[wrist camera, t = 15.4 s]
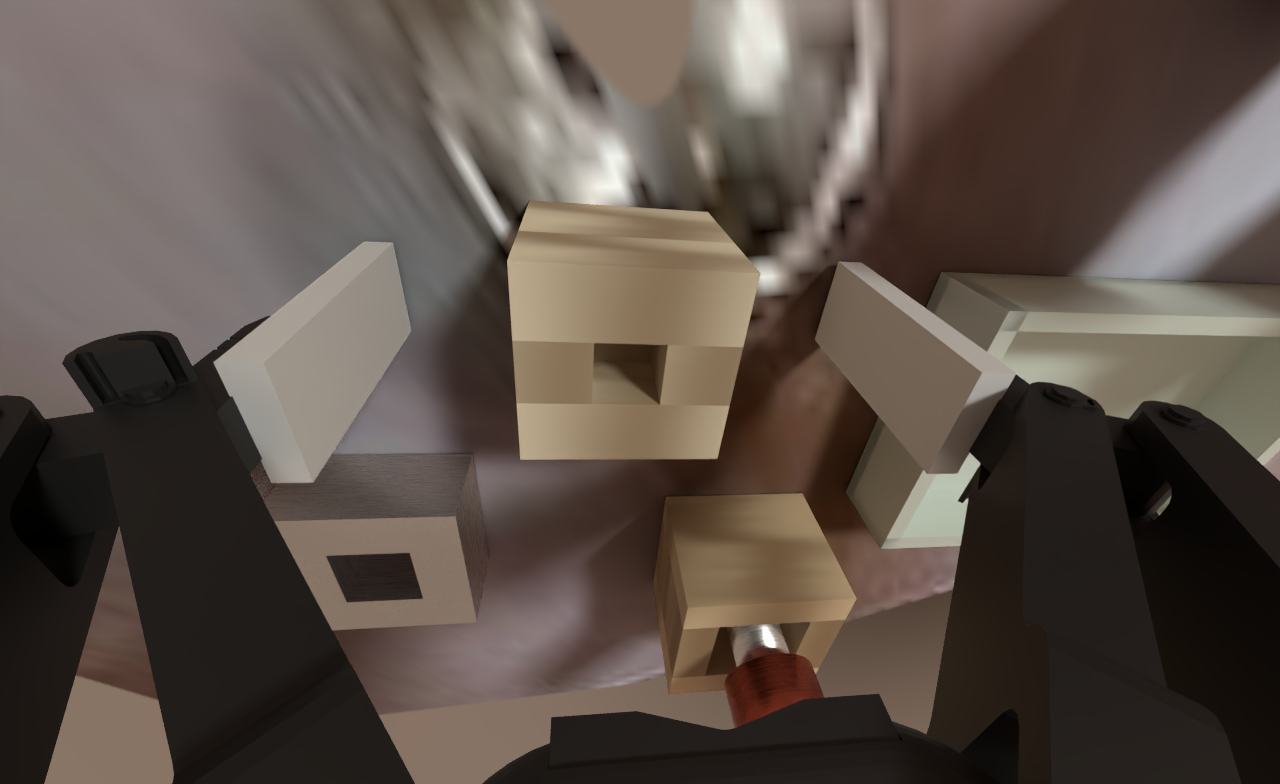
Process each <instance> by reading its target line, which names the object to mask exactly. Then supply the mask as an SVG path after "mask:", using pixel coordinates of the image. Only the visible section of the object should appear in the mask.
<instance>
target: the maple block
mask: <svg viewBox="0 0 1280 784" xmlns="http://www.w3.org/2000/svg"><path fill="white" fill-rule="evenodd" d="M507 268H508V283H509V298H510V313H511V328H512V343H513V357H514V372H515V387H516V402H517V417H518V432H519V446H520V460H559V459H717V458H718V454H719V449H720V445H721V441H722V437H723V432H724V428H725V424H726V419H727V415H728V411H729V406H730V402H731V398H732V393H733V389H734V385H735V380H736V376H737V372H738V368H739V363H740V359H741V355H742V350H743V346H744V342H745V337H746V333H747V329H748V324H749V320H750V316H751V311H752V307H753V303H754V299H755V294H756V290H757V286H758V281H759V277H760V272H759V271H758V270H757V269H756V268H755V267H754V265H753V264H752V263H751V262H750V261H749V260H748V258H747V257H746V256H745V255H744V254H743V253H742V251H741V250H740V249H739V248H738V247H737V246H736V244H735V243H734V242H733V241H732V240H731V239H730V237H729V236H728V235H727V234H726V233H725V232H724V231H723V229H722V228H721V227H720V226H719V225H718V224H717V222H716V221H715V220H714V219H713V218H712V217H711V215H710V214H709V213H708V212H697V211H682V210H666V209H651V208H636V207H621V206H606V205H590V204H575V203H560V202H545V201H529V203H528V206H527V209H526V211H525V214H524V217H523V219H522V222H521V225H520V227H519V230H518V233H517V235H516V238H515V241H514V243H513V246H512V249H511V252H510V254H509V257H508V260H507Z"/></svg>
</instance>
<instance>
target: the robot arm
mask: <svg viewBox="0 0 1280 784" xmlns="http://www.w3.org/2000/svg"><path fill="white" fill-rule="evenodd" d="M410 333H411V326H410V322H409V317H408V312H407V307H406V303H405V298H404V293H403V288H402V283H401V279H400V274H399V269H398V264H397V260H396V255H395V250H394V245H393V243H388V242H363V243H361V244H360V245H359V246H358V247H357V248H355V249H354V250H353V251H352V252H350V253H349V254H348V255H347V256H345V257H344V258H343V259H342V260H340V261H339V262H338V263H337V264H335V265H334V266H333V267H332V268H330V269H329V270H328V271H327V272H325V273H324V274H323V275H322V276H320V277H319V278H318V279H317V280H315V281H314V282H313V283H312V284H310V285H309V286H308V287H307V288H305V289H304V290H303V291H302V292H300V293H299V294H298V295H297V296H295V297H294V298H293V299H292V300H290V301H289V302H288V303H287V304H285V305H284V306H283V307H282V308H280V309H279V310H278V311H277V312H275V313H274V314H273V315H272V316H267V317H265V318H262V319H260V320H258V321H255V322H253V323H251V324H248V325H246V326H244V327H243V328H242V329H240V330H239V331H238V332H236V333H235V334H234V335H233V336H231V337H230V340H226V341H225V342H223V343H222V344H221V345H220V346H218V347H217V350H213V351H212V352H210V353H209V354H208V355H207V356H205V357H204V358H203V359H201V360H200V361H199V362H197V363H196V364H195V365H194V366H192V365H191V363H190V361H189V359H188V357H187V355H186V353H185V351H184V349H183V348H182V346H181V344H180V342H179V340H178V338H177V337H176V336H174V335H173V334H171V333H168V332H161V331H137V332H131V333H124V334H118V335H114V336H110V337H106V338H102V339H99V340H95V341H93V342H90V343H88V344H86V345H83V346H81V347H78V348H77V349H75V350H74V351H72V352H71V353H69V354H68V355H66V357H65V359H64V361H63V363H62V364H63V365H64V367H65V368H66V370H67V371H68V373H69V374H70V375H71V377H72V378H73V380H74V381H75V383H76V384H77V386H78V387H79V389H80V390H81V392H82V393H83V394H84V396H85V397H86V399H87V400H88V402H89V403H90V405H91V406H92V408H93V410H94V412H91V413H84V414H78V415H71V416H64V417H58V418H51V419H44V417H43V416H42V415H41V413H40V412H39V411H38V409H37V408H36V407H35V406H34V404H33V403H32V402H31V401H30V400H28V399H26V398H24V397H21V396H7V395H5V396H0V784H44V782H45V779H46V776H47V772H48V769H49V765H50V762H51V758H52V755H53V751H54V748H55V744H56V741H57V738H58V734H59V730H60V727H61V723H62V720H63V717H64V713H65V710H66V706H67V703H68V699H69V696H70V693H71V689H72V686H73V682H74V679H75V675H76V672H77V668H78V665H79V662H80V658H81V655H82V651H83V648H84V644H85V641H86V637H87V634H88V630H89V627H90V624H91V620H92V617H93V613H94V610H95V606H96V603H97V599H98V596H99V592H100V589H101V586H102V582H103V579H104V575H105V572H106V568H107V565H108V561H109V558H110V554H111V551H112V548H113V544H114V541H115V537H116V534H117V530H118V527H119V526H120V531H121V535H122V540H123V544H124V548H125V553H126V557H127V562H128V566H129V571H130V575H131V580H132V584H133V589H134V593H135V598H136V602H137V606H138V611H139V615H140V620H141V624H142V629H143V633H144V638H145V642H146V647H147V651H148V655H149V660H150V664H151V669H152V673H153V678H154V682H155V687H156V691H157V696H158V700H159V704H160V709H161V713H162V718H163V722H164V727H165V731H166V736H167V740H168V744H169V749H170V754H171V758H172V762H173V769H174V779H173V783H172V784H415V783H414V781H413V779H412V778H411V776H410V774H409V772H408V770H407V768H406V766H405V764H404V762H403V760H402V759H401V757H400V755H399V753H398V751H397V749H396V747H395V745H394V744H393V742H392V740H391V738H390V736H389V734H388V732H387V731H386V729H385V727H384V725H383V723H382V721H381V719H380V717H379V715H378V714H377V712H376V710H375V708H374V706H373V704H372V702H371V700H370V699H369V697H368V695H367V693H366V691H365V689H364V687H363V685H362V684H361V682H360V680H359V678H358V676H357V674H356V672H355V671H354V669H353V667H352V665H351V664H350V663H349V661H348V659H347V657H346V655H345V653H344V652H343V650H342V648H341V646H340V644H339V642H338V640H337V638H336V637H335V635H334V633H333V631H332V629H331V627H330V625H329V623H328V621H327V620H326V618H325V616H324V614H323V612H322V610H321V608H320V606H319V605H318V603H317V601H316V599H315V597H314V595H313V593H312V591H311V590H310V588H309V586H308V584H307V582H306V580H305V578H304V576H303V574H302V573H301V571H300V569H299V567H298V565H297V563H296V561H295V559H294V558H293V556H292V554H291V552H290V550H289V548H288V546H287V544H286V542H285V541H284V539H283V537H282V535H281V533H280V531H279V529H278V527H277V526H276V524H275V522H274V520H273V518H272V516H271V514H270V512H269V510H268V509H267V507H266V505H265V503H264V501H263V499H262V497H261V495H260V494H259V492H258V490H257V488H256V486H255V484H254V482H253V480H252V478H251V477H250V475H249V474H250V473H251V472H252V470H253V469H254V468H255V467H256V466H257V464H258V463H259V462H260V461H261V462H262V464H263V467H264V469H265V471H266V473H267V475H268V477H269V479H270V481H271V483H313V482H314V481H315V479H316V478H317V476H318V474H319V473H320V471H321V470H322V468H323V467H324V465H325V464H326V462H327V461H328V459H329V458H330V456H331V454H332V453H333V451H334V450H335V448H336V447H337V445H338V444H339V442H340V441H341V439H342V437H343V436H344V434H345V433H346V431H347V430H348V428H349V427H350V425H351V424H352V422H353V421H354V419H355V417H356V416H357V414H358V413H359V411H360V410H361V408H362V407H363V405H364V404H365V402H366V400H367V399H368V397H369V396H370V394H371V393H372V391H373V390H374V388H375V387H376V385H377V383H378V382H379V380H380V379H381V377H382V376H383V374H384V373H385V371H386V370H387V368H388V367H389V365H390V363H391V362H392V360H393V359H394V357H395V356H396V354H397V353H398V351H399V350H400V348H401V346H402V345H403V343H404V342H405V340H406V339H407V337H408V336H409V334H410ZM815 341H816V342H817V343H818V344H819V346H820V347H821V348H822V349H823V350H824V352H825V353H826V354H827V355H828V356H829V358H830V359H831V360H832V361H833V362H834V364H835V365H836V366H837V367H838V368H839V370H840V371H841V372H842V373H843V374H844V376H845V377H846V378H847V379H848V380H849V382H850V383H851V384H852V385H853V386H854V387H855V389H856V390H857V391H858V392H859V393H860V395H861V396H862V397H863V398H864V399H865V401H866V402H867V403H868V404H869V405H870V407H871V408H872V409H873V410H874V411H875V413H876V414H877V415H878V416H879V417H880V419H881V420H882V421H883V422H884V423H885V425H886V426H887V427H888V428H889V429H890V431H891V432H892V433H893V434H894V435H895V437H896V438H897V439H898V440H899V441H900V443H901V444H902V445H903V446H904V447H905V448H906V450H907V451H908V452H909V453H910V454H911V456H912V457H913V458H914V459H915V460H916V462H917V463H918V464H919V465H920V466H921V468H922V469H923V470H924V471H925V472H926V474H957V473H958V471H959V470H960V468H961V466H962V465H963V463H964V461H965V460H966V458H967V456H968V455H969V453H971V454H972V455H973V456H974V457H975V458H976V459H977V460H978V461H979V462H980V463H981V464H980V466H979V467H978V469H977V470H976V472H975V474H974V475H973V477H972V478H971V480H970V482H969V483H968V485H967V487H966V488H965V490H964V491H963V493H962V495H961V496H960V498H959V499H958V502H961V503H963V502H964V501H965V500H966V499H968V505H967V511H966V517H965V523H964V529H963V534H962V540H961V546H960V552H959V558H958V564H957V570H956V576H955V582H954V588H953V593H952V599H951V605H950V612H949V617H948V623H947V629H946V635H945V641H944V647H943V652H942V658H941V665H940V670H939V676H938V682H937V688H936V694H935V700H934V706H933V711H932V718H931V721H930V726H929V728H928V732H927V734H924V733H922V732H920V731H918V730H915V729H912V728H909V727H907V726H904V725H901V724H898V723H895V722H892V721H891V719H890V716H889V714H888V712H887V710H886V708H885V706H884V704H883V702H882V699H881V697H880V695H879V694H870V695H857V696H842V697H828V698H814V699H803V700H801V701H798V702H796V703H794V704H791V705H789V706H786V707H784V708H782V709H779V710H777V711H775V712H772V713H770V714H767V715H765V716H763V717H760V718H758V719H756V720H753V721H751V722H748V723H746V724H744V725H741V726H739V727H737V728H734V729H730V730H720V729H715V728H710V727H706V726H701V725H697V724H692V723H688V722H683V721H678V720H674V719H669V718H664V717H660V716H656V715H651V714H646V713H642V712H638V711H634V712H620V713H607V714H592V715H578V716H564V717H552V718H551V736H550V743H549V744H547V745H544V746H542V747H540V748H537V749H534V750H532V751H530V752H528V753H526V754H525V755H523V756H521V757H519V758H517V759H516V760H514V761H512V762H510V763H509V764H507V765H506V766H505V767H503V768H502V769H500V770H499V771H498V772H496V773H495V774H493V775H492V776H491V777H489V778H488V779H487V780H486V781H485V782H484V783H483V784H1280V481H1279V480H1278V479H1277V478H1276V477H1275V476H1273V475H1272V474H1271V473H1270V472H1269V471H1268V470H1267V469H1266V468H1265V467H1264V466H1263V465H1262V464H1261V463H1260V462H1259V461H1258V460H1257V459H1255V458H1254V457H1253V456H1252V455H1251V454H1250V453H1249V452H1248V451H1247V450H1246V449H1245V448H1244V447H1243V446H1242V445H1241V444H1240V443H1238V442H1237V441H1236V440H1235V439H1234V438H1233V437H1232V436H1231V435H1230V434H1229V433H1228V432H1227V431H1226V430H1225V429H1224V428H1222V427H1221V426H1220V425H1218V424H1217V423H1215V422H1214V421H1213V420H1211V419H1209V418H1207V417H1205V416H1204V415H1203V414H1202V413H1201V412H1199V411H1196V410H1194V409H1192V408H1189V407H1186V406H1183V405H1179V404H1178V405H1174V404H1170V403H1167V402H1160V401H1153V400H1152V401H1143V402H1142V403H1141V404H1140V405H1139V407H1138V408H1137V409H1136V410H1135V412H1134V413H1133V414H1132V415H1131V417H1130V418H1129V419H1125V418H1120V417H1114V416H1109V415H1105V411H1104V409H1103V408H1102V406H1101V405H1100V404H1099V403H1098V402H1097V401H1096V400H1094V399H1092V398H1091V397H1089V396H1087V395H1085V394H1083V393H1081V392H1080V391H1078V390H1076V389H1073V388H1071V387H1068V386H1063V385H1058V384H1054V383H1049V382H1035V383H1031V384H1029V383H1027V382H1026V381H1025V380H1023V379H1022V378H1020V377H1019V376H1018V375H1016V374H1017V373H1016V372H1014V371H1013V370H1011V369H1010V368H1009V367H1007V366H1006V365H1004V364H1003V363H1002V362H1000V361H999V360H997V359H996V358H995V357H993V356H992V355H990V354H989V353H988V352H986V351H985V350H983V349H982V348H981V347H979V346H978V345H976V344H975V343H974V342H972V341H971V340H969V339H968V338H967V337H965V336H964V335H962V334H961V333H960V332H958V331H957V330H955V329H954V328H953V327H951V326H950V325H948V324H947V323H946V322H944V321H943V320H941V319H940V318H939V317H937V316H936V315H934V314H933V313H932V312H930V311H929V310H927V309H926V308H925V307H923V306H922V305H920V304H919V303H918V302H916V301H915V300H913V299H912V298H911V297H909V296H908V295H906V294H905V293H904V292H902V291H901V290H899V289H898V288H897V287H895V286H894V285H892V284H891V283H890V282H888V281H887V280H885V279H884V278H883V277H881V276H880V275H878V274H877V273H876V272H874V271H873V270H871V269H870V268H869V267H867V266H866V265H864V264H863V263H862V262H838V265H837V268H836V272H835V275H834V278H833V281H832V285H831V288H830V291H829V294H828V298H827V301H826V304H825V307H824V311H823V314H822V317H821V320H820V324H819V327H818V330H817V334H816V337H815ZM1170 497H1171V499H1170V502H1169V504H1168V506H1167V507H1166V508H1165V510H1164V511H1163V512H1162V513H1161V514H1160V515H1159V514H1158V513H1157V510H1158V509H1159V508H1160V507H1161V506H1162V505H1163V504H1164V503H1165V502H1166V501H1167V500H1168V499H1169V498H1170Z"/></svg>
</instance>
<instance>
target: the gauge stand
mask: <svg viewBox="0 0 1280 784" xmlns="http://www.w3.org/2000/svg"><path fill="white" fill-rule="evenodd" d="M264 503H265V505H266V507H267V509H268V510H269V512H270V514H271V516H272V518H273V520H274V522H275V524H276V526H277V527H278V529H279V531H280V533H281V535H282V537H283V539H284V541H285V542H286V544H287V546H288V548H289V550H290V552H291V554H292V556H293V558H294V559H295V561H296V563H297V565H298V567H299V569H300V571H301V573H302V574H303V576H304V578H305V580H306V582H307V584H308V586H309V588H310V590H311V591H312V593H313V595H314V597H315V599H316V601H317V603H318V605H319V606H320V608H321V610H322V612H323V614H324V616H325V618H326V620H327V621H328V623H329V625H330V627H331V629H332V630H348V629H367V628H385V627H403V626H422V625H440V624H458V623H476V622H477V620H478V614H479V609H480V603H481V598H482V593H483V587H484V582H485V576H486V571H487V565H488V560H489V554H488V548H487V541H486V535H485V529H484V522H483V516H482V510H481V503H480V497H479V491H478V484H477V478H476V472H475V465H474V459H473V454H401V455H331V456H330V458H329V459H328V461H327V462H326V464H325V465H324V467H323V468H322V470H321V471H320V473H319V474H318V476H317V478H316V479H315V481H314V482H313V483H277V484H276V486H275V487H274V488H273V490H272V491H271V493H270V494H269V495H268V497H267V498H266V500H265V501H264Z"/></svg>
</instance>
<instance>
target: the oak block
mask: <svg viewBox="0 0 1280 784" xmlns="http://www.w3.org/2000/svg"><path fill="white" fill-rule="evenodd" d="M653 587H654V594H655V601H656V608H657V615H658V622H659V629H660V637H661V644H662V651H663V658H664V665H665V672H666V679H667V686H668V693H669V694H680V693H693V692H706V691H719V690H725V686H724V682H725V679H726V677H727V676H728V674H729V673H730V672H731V671H732V670H733V669H735V668H736V667H737V666H736V662H735V658H734V654H733V651H732V647H731V643H730V639H729V635H728V632H727V628H726V627H733V626H750V625H766V624H779V625H780V628H781V631H782V633H783V636H784V639H785V642H786V645H787V647H788V650H789V653H791V654H797V655H801V656H803V657H805V658H807V659H808V660H809V661H810V662H811V664H812V666H813V669H814V672H815V674H816V672H817V670H818V669H819V667H820V665H821V663H822V661H823V659H824V657H825V655H826V654H827V652H828V650H829V648H830V646H831V645H832V643H833V641H834V639H835V637H836V636H837V634H838V632H839V630H840V628H841V626H842V625H843V623H844V621H845V619H846V617H847V615H848V614H849V612H850V610H851V608H852V606H853V604H854V603H855V601H856V599H857V598H856V597H855V595H854V593H853V591H852V589H851V587H850V585H849V583H848V581H847V579H846V577H845V575H844V573H843V571H842V569H841V567H840V566H839V564H838V562H837V560H836V558H835V556H834V554H833V552H832V550H831V548H830V546H829V544H828V542H827V540H826V538H825V536H824V534H823V533H822V531H821V529H820V527H819V525H818V523H817V521H816V519H815V517H814V515H813V513H812V511H811V509H810V507H809V505H808V503H807V502H806V500H805V498H804V496H803V494H802V493H798V494H756V495H715V496H674V497H666V499H665V506H664V513H663V519H662V526H661V533H660V540H659V547H658V554H657V561H656V568H655V575H654V581H653Z"/></svg>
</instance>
